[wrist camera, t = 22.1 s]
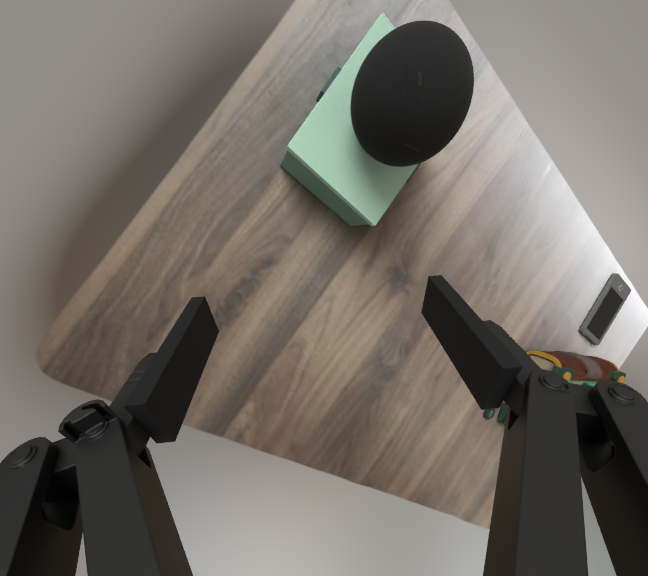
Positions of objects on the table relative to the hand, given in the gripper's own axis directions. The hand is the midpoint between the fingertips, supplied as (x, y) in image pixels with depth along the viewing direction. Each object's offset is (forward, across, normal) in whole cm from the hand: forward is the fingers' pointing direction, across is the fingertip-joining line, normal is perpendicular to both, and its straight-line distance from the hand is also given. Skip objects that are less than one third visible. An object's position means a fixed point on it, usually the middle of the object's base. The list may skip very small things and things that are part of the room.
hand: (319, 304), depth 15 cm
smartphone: (+28, +64, -31) cm, 76 cm away
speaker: (+19, +8, +8) cm, 22 cm away
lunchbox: (+26, +6, +6) cm, 27 cm away
